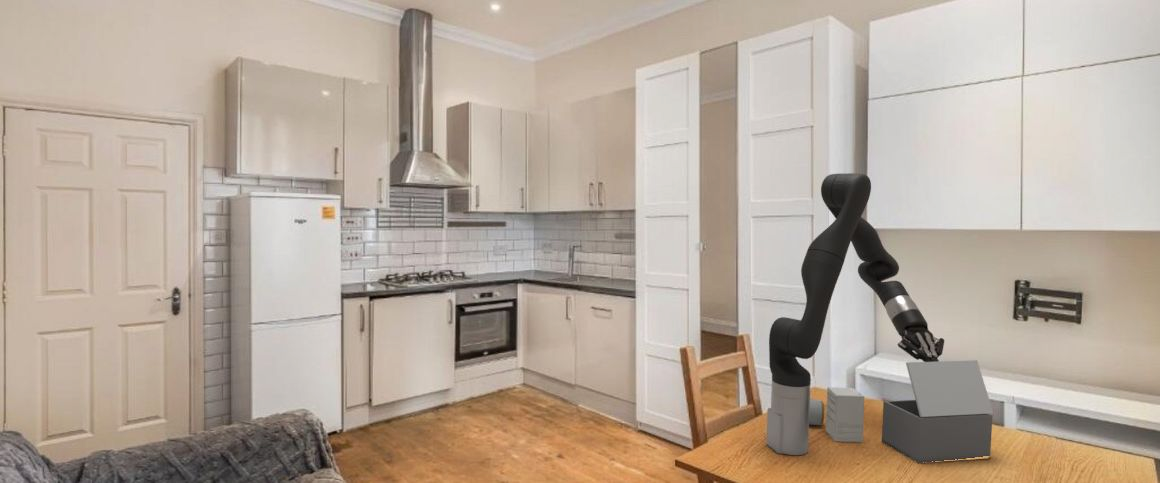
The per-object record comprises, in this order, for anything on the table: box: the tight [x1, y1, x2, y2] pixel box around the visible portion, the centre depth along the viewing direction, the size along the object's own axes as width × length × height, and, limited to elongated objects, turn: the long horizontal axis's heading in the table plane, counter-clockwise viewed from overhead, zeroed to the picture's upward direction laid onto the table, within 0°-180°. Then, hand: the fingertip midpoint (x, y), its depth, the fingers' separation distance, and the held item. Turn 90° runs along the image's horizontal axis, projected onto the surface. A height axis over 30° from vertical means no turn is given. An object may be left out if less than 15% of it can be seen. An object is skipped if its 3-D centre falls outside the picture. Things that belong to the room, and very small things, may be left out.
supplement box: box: [825, 386, 865, 443], centre depth 153 cm, size 7×7×13 cm
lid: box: [905, 359, 994, 417], centre depth 141 cm, size 20×13×1 cm
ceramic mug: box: [809, 397, 825, 426], centre depth 164 cm, size 11×8×8 cm
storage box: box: [881, 399, 993, 464], centre depth 145 cm, size 20×13×11 cm, turn 100°
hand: (938, 372), depth 145 cm, fingers closed
